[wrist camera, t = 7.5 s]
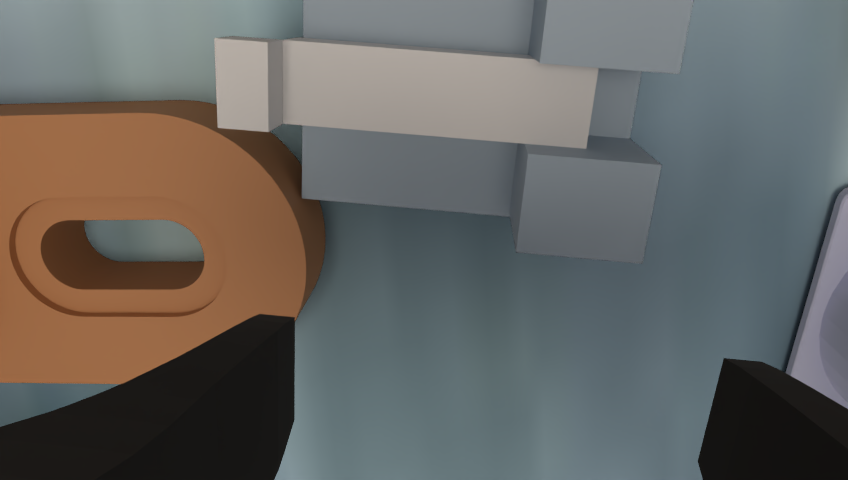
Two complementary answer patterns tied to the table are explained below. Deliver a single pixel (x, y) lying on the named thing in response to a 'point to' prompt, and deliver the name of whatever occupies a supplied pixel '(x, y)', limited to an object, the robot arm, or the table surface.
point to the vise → (470, 110)
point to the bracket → (141, 200)
